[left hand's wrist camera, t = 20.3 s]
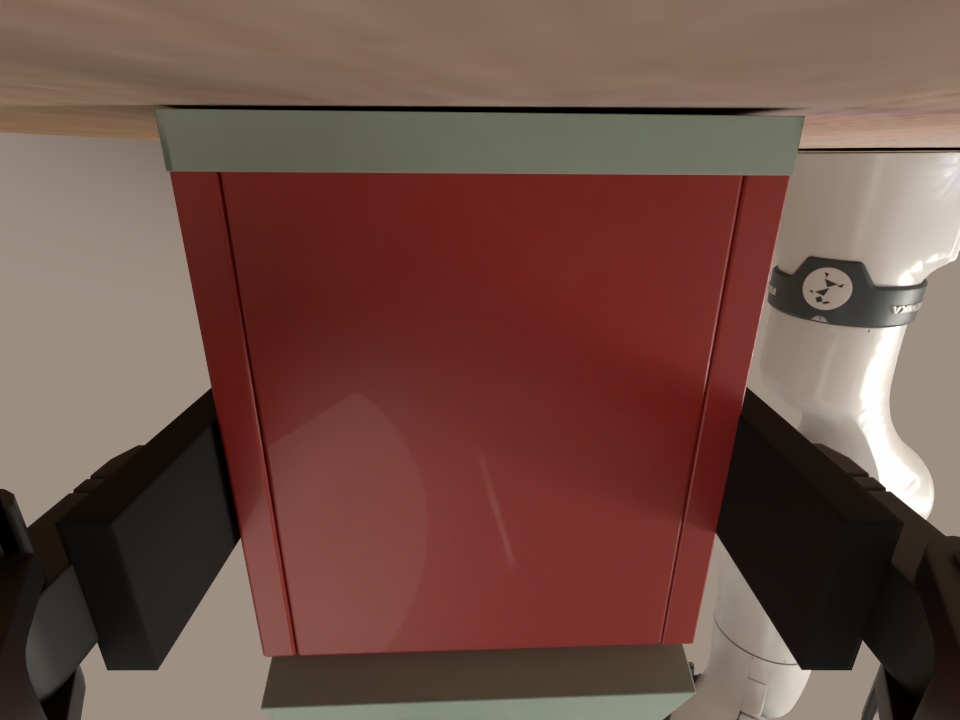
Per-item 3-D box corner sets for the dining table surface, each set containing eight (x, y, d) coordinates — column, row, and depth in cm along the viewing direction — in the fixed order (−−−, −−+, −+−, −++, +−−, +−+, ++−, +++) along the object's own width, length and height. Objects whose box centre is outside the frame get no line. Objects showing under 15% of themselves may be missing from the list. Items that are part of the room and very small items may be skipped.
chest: (591, 142, 20) (571, 395, 24) (342, 140, 20) (362, 398, 24) (805, 115, 8) (694, 644, 12) (153, 108, 7) (261, 659, 11)
